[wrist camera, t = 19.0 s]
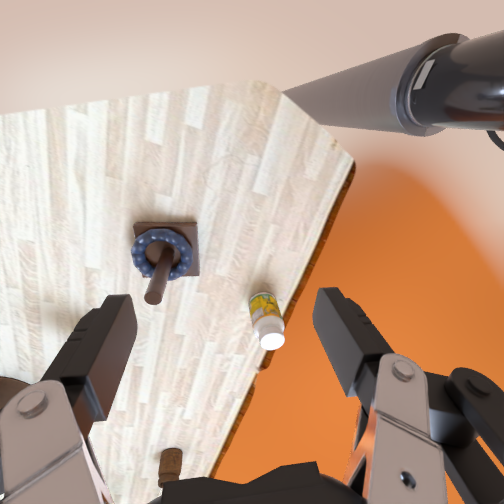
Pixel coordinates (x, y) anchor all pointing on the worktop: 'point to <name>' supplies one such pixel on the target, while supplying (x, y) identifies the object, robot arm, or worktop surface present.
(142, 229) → the brown peg stand
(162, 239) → the ring
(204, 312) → the worktop surface
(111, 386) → the robot arm
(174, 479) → the utensil holder
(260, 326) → the supplement bottle
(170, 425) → the worktop surface
